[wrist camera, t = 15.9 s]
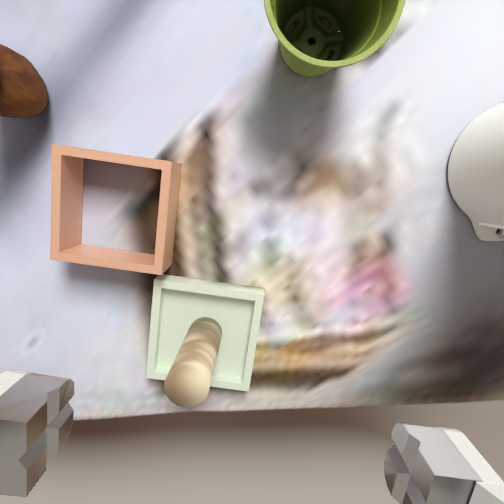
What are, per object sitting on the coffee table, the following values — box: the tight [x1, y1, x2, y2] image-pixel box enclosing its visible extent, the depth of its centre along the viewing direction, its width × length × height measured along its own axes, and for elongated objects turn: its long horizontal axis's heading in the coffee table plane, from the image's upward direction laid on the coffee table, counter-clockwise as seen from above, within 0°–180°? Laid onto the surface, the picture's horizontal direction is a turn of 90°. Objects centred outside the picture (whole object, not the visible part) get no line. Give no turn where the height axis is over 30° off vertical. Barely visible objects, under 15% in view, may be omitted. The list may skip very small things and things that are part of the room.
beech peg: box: [164, 317, 222, 407], centre depth 39 cm, size 4×4×12 cm
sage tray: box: [146, 274, 264, 392], centre depth 45 cm, size 14×14×2 cm
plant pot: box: [264, 0, 405, 77], centre depth 33 cm, size 12×12×11 cm
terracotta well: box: [50, 144, 182, 275], centre depth 40 cm, size 13×13×5 cm
